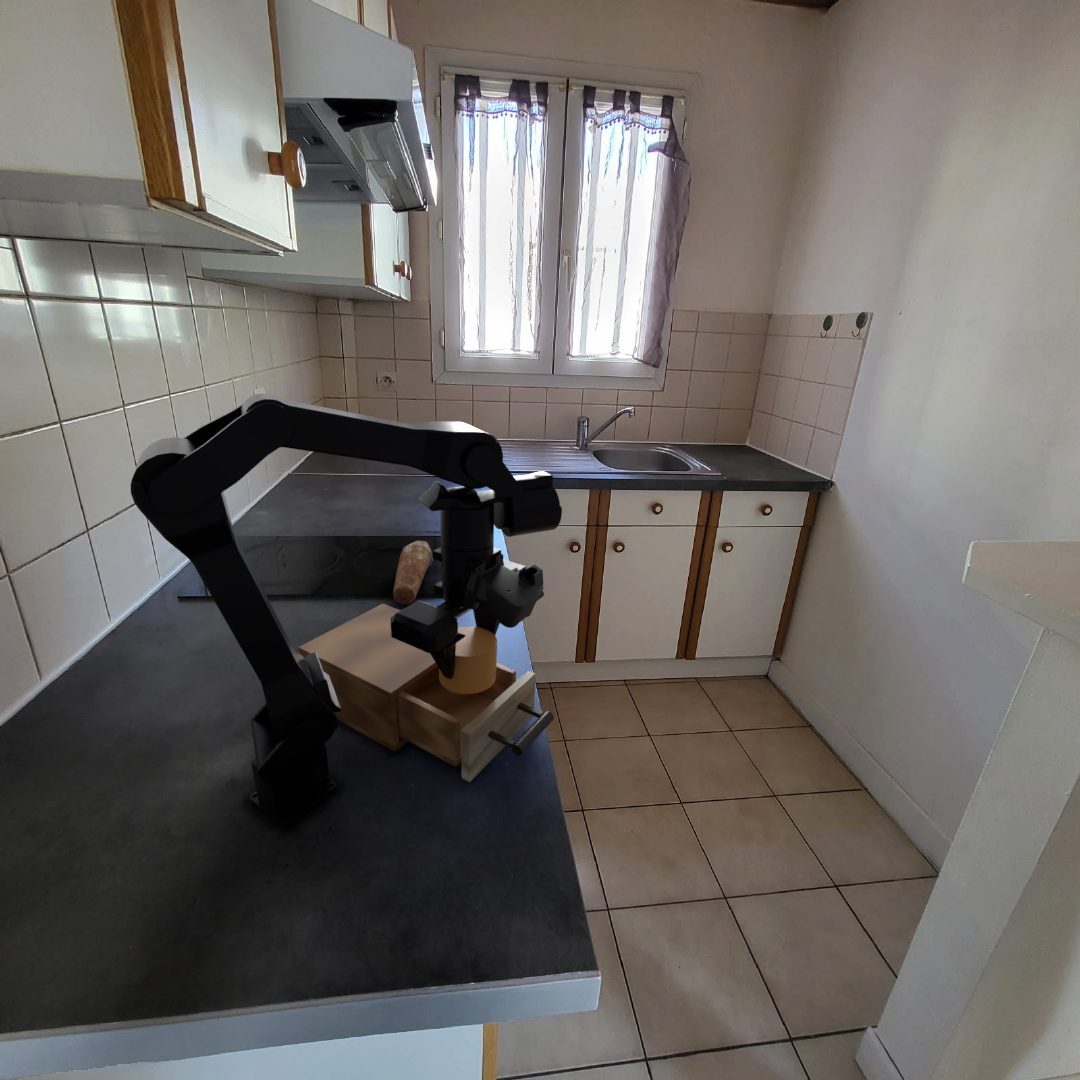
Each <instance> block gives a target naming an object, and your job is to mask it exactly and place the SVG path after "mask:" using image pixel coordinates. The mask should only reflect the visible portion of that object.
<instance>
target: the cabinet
mask: <svg viewBox="0 0 1080 1080" xmlns="http://www.w3.org/2000/svg"><path fill="white" fill-rule="evenodd" d="M399 611H401V610H400V609H398V608H395V607H392V606H390V605H388V604H385V603H381V604H379V605H378V606H375V607H373V608H371V609H370V610H368V611H366V612H364V613H362V614H360V615H358V616H356V617H354V618H352V619H350V620H348V621H346V622H344V623H342V624H341V625H338V626H336V627H335V628H333V629H331V630H329V631H327V632H325V633H323V634H321V635H319V636H317V637H315V638H313V639H311V640H309V641H308V642H306V643H304V644H302V645H300V646H298V648H297V649H298V653H299V654H300V655H301V656H303V657H304V658H305V657H307V656H308V655H310V654H312V653H313V652H315V651H316V652H317V654H318V657H319V660H320V663H321V665H322V668H323V671H324V672H325V673H327V674H328V675H329V677H330V680H331V682H332V685H333V688H334V691H335V693H336V696H337V699H338V702H339V705H340V707H341V711H340V712H335V714H336V717H337V721H338V722H339V721H340V722H341V723H343V724H344V725H346V726H348V727H350V728H352V729H354V730H355V731H357V732H359V733H361V734H362V735H364V736H366V737H368V738H370V740H371V739H372V740H373V741H375V742H376V743H378V744H380V745H382V746H383V747H385V748H387V749H389V750H390V751H393V752H394V753H395V752H397V751H398V750H400V749H401V748H402V747H403V746H404V745H405V744H406V743H408V742H409V741H407V740H405V739H404V738H402V737H400V736H399V734H398V719H397V704H396V695H397V694H399V693H400V692H402V691H403V690H404V689H406V688H407V687H409V686H410V685H411V684H413V683H414V682H416V681H417V680H418V679H420V678H421V677H423V676H424V675H425V674H427V673H428V672H430V671H431V670H433V669H434V668H435V667H437V664H436V662H435V661H434V659H433V657H432V656H431V654H430V653H427V652H424V651H422V650H420V649H418V648H415V647H413V646H411V645H408V644H406V643H404V642H401V641H399V640H397V639H395V638H392V637H391V617H392V616H393V615H395V614H396V613H397V612H399Z"/></svg>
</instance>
